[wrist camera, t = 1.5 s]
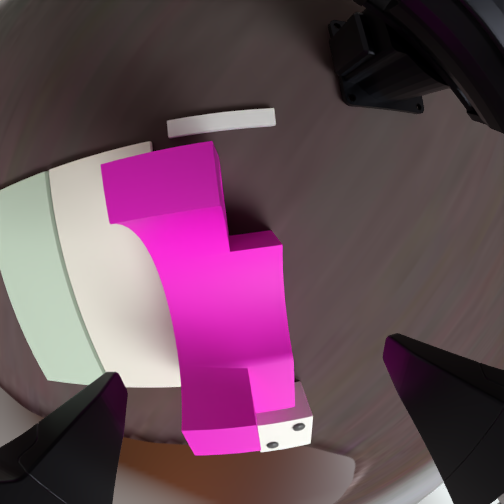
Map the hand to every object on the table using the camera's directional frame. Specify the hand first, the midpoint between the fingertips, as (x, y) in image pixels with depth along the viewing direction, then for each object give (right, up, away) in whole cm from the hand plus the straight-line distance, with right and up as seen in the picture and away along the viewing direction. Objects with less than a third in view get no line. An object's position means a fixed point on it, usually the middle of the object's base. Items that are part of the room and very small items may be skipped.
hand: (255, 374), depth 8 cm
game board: (-9, +2, +8) cm, 12 cm away
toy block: (-2, +2, +9) cm, 10 cm away
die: (+2, -9, +13) cm, 15 cm away
